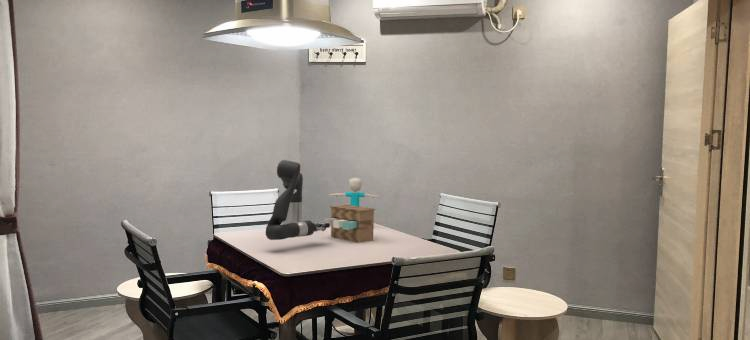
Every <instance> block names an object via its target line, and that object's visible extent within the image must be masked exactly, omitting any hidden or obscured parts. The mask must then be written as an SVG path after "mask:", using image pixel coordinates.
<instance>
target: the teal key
mask: <svg viewBox="0 0 750 340" xmlns="http://www.w3.org/2000/svg"><path fill="white" fill-rule="evenodd" d="M353 228H358V221H350V222H343V229H344V230H349V229H353Z"/></svg>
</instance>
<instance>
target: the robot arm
mask: <svg viewBox="0 0 750 340" xmlns="http://www.w3.org/2000/svg"><path fill="white" fill-rule="evenodd" d="M276 175H277V177H278V178H279V179H280V180H281V182H282V185H283V188H284V189H285V190H284V191H283V192H282V193H281V194H280V195H279V196H278V197H277V199H276V200H275V203H274V206H273V210H272V213H271V214H272V215H271V217H270V219H269V221H268V222H267V224H266V227H265V236H266V238H267V239H268V240H270V241H278V240H279V241H280V240H286V239H289V238H290V239H291V238H301V237H308V236H312V235H313V234H314V233H315V232H316V233H317V232H319V231H322V232H325V231H326V230H327V229H329V228H331V226H330V224H329V223H324V222H323V223H321V222H312V221H311V220H303V183H304V179H303V178H304V177H303V174H302V173H301V164H300V162H296V161H291V160H288V159H282V160H280V161H279V162H278V164H277V167H276ZM282 223H283V224H282Z"/></svg>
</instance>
